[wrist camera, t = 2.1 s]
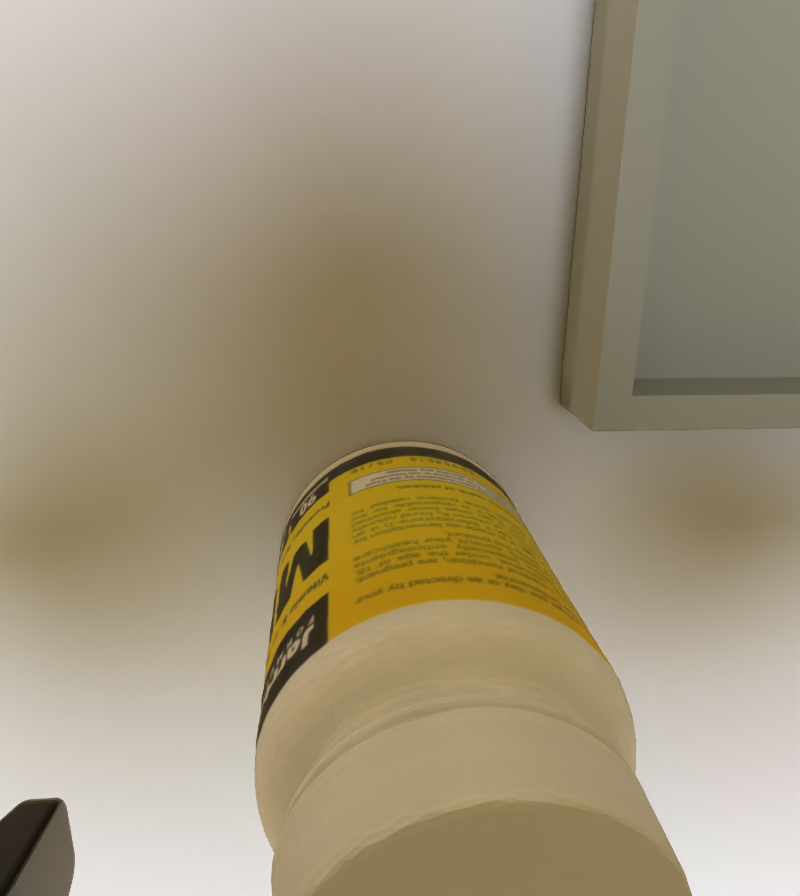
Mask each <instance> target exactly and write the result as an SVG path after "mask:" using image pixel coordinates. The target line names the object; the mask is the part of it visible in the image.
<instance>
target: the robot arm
mask: <svg viewBox="0 0 800 896" xmlns="http://www.w3.org/2000/svg"><path fill="white" fill-rule="evenodd" d="M74 866H75V854H74V848H73V842H72V836H71V830H70V824H69V818H68V812H67V807H66V805H65V803H64V801H63V800H62V799H59V798H45V799H29V800H26V801H23V802H21V803H20V804H18V805H17V806H16V807H15V808H14V809H12V810H11V811H10V812H9V813H8V814H7V815H6V816H5V817H3V818H2V819H1V820H0V896H69V892H70V888H71V884H72V879H73V874H74Z"/></svg>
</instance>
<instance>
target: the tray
mask: <svg viewBox="0 0 800 896" xmlns="http://www.w3.org/2000/svg"><path fill="white" fill-rule="evenodd" d="M560 403H561V404H562V405H563V406H564V407H565V408H566V409H568V410H569V411H570V412H571V413H572V414H573V415H575V416H576V417H577V418H578V419H579V420H580V421H582V422H583V423H584V424H585V425H586V426H587V427H589V428H590V429H591V430H592V431H638V430H699V429H760V428H800V0H595V11H594V23H593V34H592V45H591V56H590V68H589V79H588V90H587V102H586V113H585V124H584V135H583V147H582V158H581V169H580V181H579V192H578V203H577V214H576V226H575V237H574V248H573V260H572V271H571V282H570V293H569V305H568V316H567V327H566V339H565V350H564V361H563V372H562V384H561V395H560Z"/></svg>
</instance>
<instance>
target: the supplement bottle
mask: <svg viewBox="0 0 800 896" xmlns="http://www.w3.org/2000/svg"><path fill="white" fill-rule="evenodd" d="M635 765H636V740H635V732H634V725H633V719H632V714H631V711H630V708H629V705H628V702H627V699H626V696H625V693H624V690H623V688H622V686H621V683H620V681H619V679H618V677H617V675H616V674H615V672H614V670H613V668H612V667H611V665H610V663H609V662H608V660H607V659H606V657H605V656H604V654H603V653H602V651H601V649H600V648H599V646H598V644H597V643H596V641H595V640H594V638H593V637H592V635H591V633H590V632H589V630H588V629H587V627H586V625H585V623H584V621H583V620H582V618H581V617H580V615H579V614H578V612H577V610H576V609H575V607H574V606H573V604H572V602H571V601H570V599H569V597H568V596H567V594H566V593H565V591H564V590H563V588H562V586H561V585H560V583H559V581H558V579H557V577H556V576H555V574H554V573H553V571H552V570H551V568H550V566H549V564H548V563H547V561H546V559H545V558H544V556H543V554H542V553H541V551H540V549H539V548H538V546H537V544H536V542H535V541H534V539H533V537H532V536H531V534H530V532H529V531H528V529H527V527H526V526H525V524H524V522H523V520H522V519H521V517H520V515H519V513H518V512H517V510H516V508H515V507H514V505H513V503H512V502H511V500H510V499H509V497H508V496H507V494H506V493H505V491H504V490H503V488H502V487H501V486H500V484H499V483H498V482H497V481H496V480H495V478H494V477H493V476H492V475H491V474H489V473H488V472H487V471H486V470H485V469H484V468H483V467H481V466H480V465H479V464H477V463H476V462H475V461H473V460H471V459H470V458H468V457H466V456H465V455H463V454H460V453H458V452H456V451H454V450H451V449H449V448H445V447H442V446H438V445H434V444H429V443H423V442H406V441H405V442H391V443H384V444H379V445H374V446H371V447H367V448H364V449H361V450H358V451H356V452H354V453H351V454H349V455H347V456H345V457H343V458H341V459H340V460H338V461H336V462H335V463H333V464H332V465H330V466H329V467H328V468H326V469H325V470H324V471H322V472H321V473H320V474H319V475H318V476H317V477H316V478H315V479H314V480H313V481H312V482H311V483H310V484H309V485H308V486H307V488H306V489H305V490H304V492H303V493H302V494H301V496H300V497H299V499H298V500H297V502H296V504H295V506H294V507H293V509H292V511H291V513H290V515H289V518H288V520H287V523H286V526H285V529H284V533H283V537H282V543H281V548H280V557H279V563H278V572H277V584H276V591H275V599H274V607H273V615H272V622H271V629H270V639H269V647H268V654H267V661H266V673H265V682H264V690H263V695H262V705H261V714H260V720H259V726H258V734H257V740H256V758H255V788H256V799H257V804H258V809H259V814H260V817H261V821H262V825H263V828H264V832H265V834H266V836H267V838H268V841H269V843H270V845H271V847H272V849H273V851H274V852H275V853H274V857H273V861H272V875H271V884H272V896H692V894H691V891H690V888H689V885H688V882H687V879H686V876H685V873H684V871H683V869H682V867H681V865H680V863H679V861H678V859H677V857H676V855H675V853H674V851H673V849H672V847H671V845H670V843H669V841H668V839H667V837H666V835H665V833H664V831H663V829H662V827H661V825H660V823H659V821H658V819H657V817H656V815H655V813H654V811H653V809H652V807H651V805H650V803H649V801H648V799H647V797H646V795H645V792H644V790H643V788H642V786H641V785H640V783H639V781H638V779H637V778H636V776H635Z"/></svg>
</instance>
